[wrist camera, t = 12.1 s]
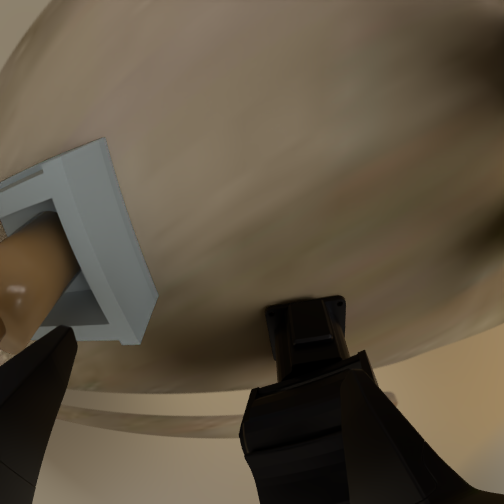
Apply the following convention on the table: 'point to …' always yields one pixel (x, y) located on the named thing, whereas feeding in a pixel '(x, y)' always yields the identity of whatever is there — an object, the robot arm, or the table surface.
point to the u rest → (87, 243)
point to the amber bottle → (33, 277)
